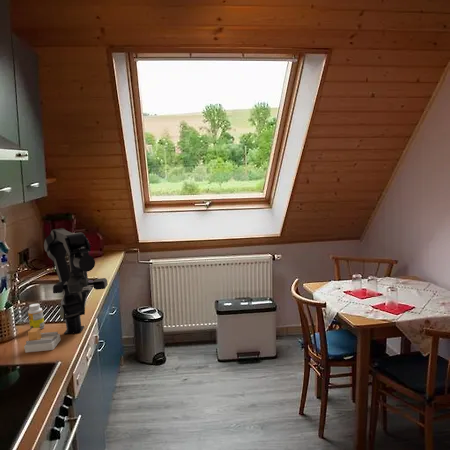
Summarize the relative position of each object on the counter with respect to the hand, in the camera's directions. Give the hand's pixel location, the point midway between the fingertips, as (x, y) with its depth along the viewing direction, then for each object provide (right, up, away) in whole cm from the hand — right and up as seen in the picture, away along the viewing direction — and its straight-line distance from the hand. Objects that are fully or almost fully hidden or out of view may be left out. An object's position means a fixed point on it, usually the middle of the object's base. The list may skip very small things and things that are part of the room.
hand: (83, 307), depth 165 cm
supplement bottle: (-25, -12, +19) cm, 34 cm away
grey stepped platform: (-15, -14, 0) cm, 21 cm away
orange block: (-18, -12, -1) cm, 21 cm away
